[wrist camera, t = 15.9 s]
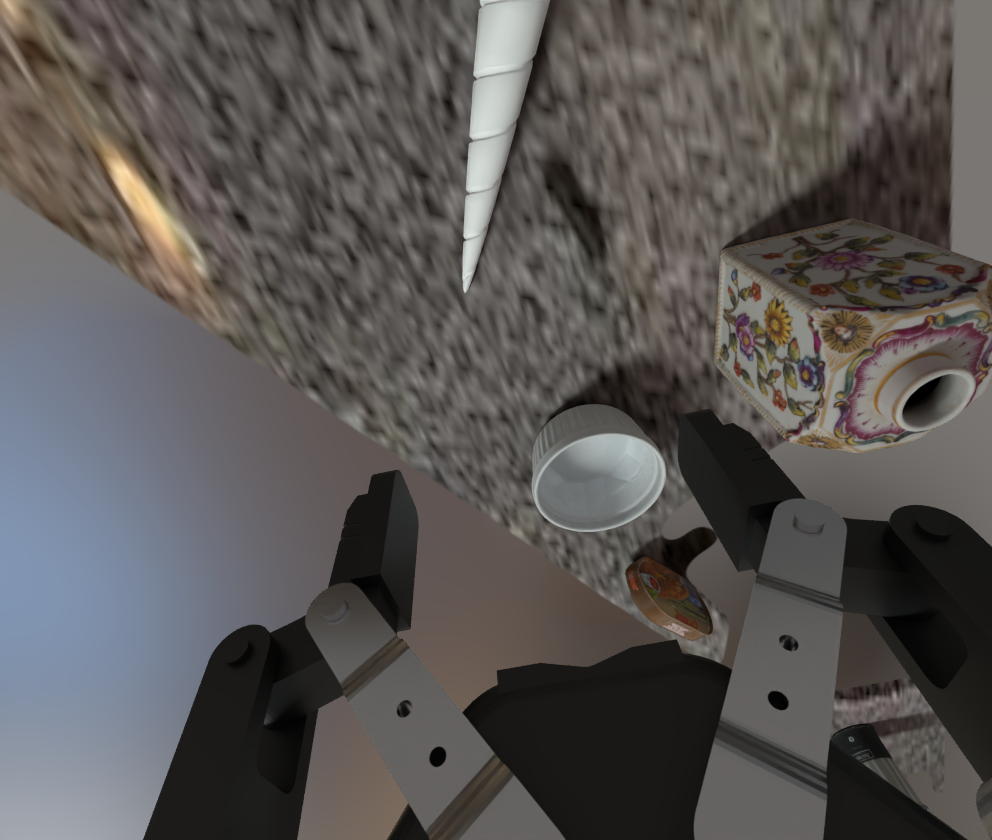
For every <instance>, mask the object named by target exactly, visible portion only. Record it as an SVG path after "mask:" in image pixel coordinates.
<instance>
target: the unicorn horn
mask: <svg viewBox="0 0 992 840" xmlns="http://www.w3.org/2000/svg"><path fill="white" fill-rule="evenodd" d="M549 3H550V0H480V4H481V6H482V8H480V9H479V18H478V30H477V41H476V52H475V63H474V74H473V75H474V76H475V77H476V78H477V80H476V81H474V83H473V92H472V110H471V124H470V137H471V138H472V139H473V142H471V143H469V151H468V166H467V181H466V190H467V191H468V192H469V195H467V196H466V198H465V217H464V238H465V239H466V241H465V242H464V243H463V281H464V282H463V289H464V292H465V293H466V292H467V290H468V288H469V286H470V284H471V281H472V278H473V275H474V272H475V269H476V265H477V263H478V260H479V256H480V253H481V250H482V246H483V243H484V240H485V236H486V233H487V230H488V223H489V222H490V219H491V216H492V212H493V208H494V205H495V201H496V198H497V194H498V191H499V187H500V183H501V179H502V174H503V172H504V169H505V166H506V162H507V158H508V155H509V151H510V147H511V144H512V140H513V136H514V133H515V129H516V120H517V118H518V117H519V114H520V111H521V107H522V103H523V100H524V96H525V92H526V88H527V85H528V81H529V77H530V74H531V70H532V66H533V61H532V58H533V57H534V56H535V55H536V51H537V47H538V44H539V40H540V36H541V32H542V29H543V25H544V21H545V18H546V14H547V10H548V7H549Z"/></svg>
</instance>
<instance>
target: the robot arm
mask: <svg viewBox="0 0 992 840" xmlns="http://www.w3.org/2000/svg"><path fill="white" fill-rule="evenodd" d="M678 463H679V467H680V471H681V473H682V476H683V478H684V480H685V481H686V483H687V485H688V487H689V488H690V490H691V492H692V493H693V495H694V497H695V499H696V500H697V502H698V504H699V505H700V507H701V509H702V511H703V512H704V514H705V516H706V517H707V519H708V521H709V523H710V524H711V526H712V528H713V529H714V531H715V533H716V535H717V536H718V538H719V540H720V541H721V543H722V544H723V547H724V548H725V550H726V552H727V553H728V555H729V557H730V559H731V560H732V562H733V564H734V565H735V567H736V569H737V570H738V572H739V571H745V570H751V569H754V570H755V572H756V573H757V576H756V580H755V584H754V587H753V591H752V595H751V599H750V603H749V607H748V611H747V615H746V619H745V623H744V627H743V631H742V634H741V638H740V643H739V646H738V651H737V654H736V658H735V662H734V666H733V670H732V669H730V668H728V667H727V666H725V665H722V664H720V663H718V662H716V661H714V660H711V659H707V658H704V657H701V656H697V655H692V654H685V653H682V651H681V649H680V646H679V644H678V641H677V639H676V640H670V641H664V642H659V643H653V644H647V645H641V646H635V647H631V648H629V649H627V650H625V651H623V652H620V653H619V654H616V655H614V656H612V657H610V658H608V659H606V660H604V661H601V662H599V663H597V664H595V665H593V666H590V667H577V666H566V665H556V664H545V663H538V664H532V665H526V666H520V667H515V668H509V669H503V670H497V679H498V685H497V686H494V687H492V688H490V689H489V690H487V691H486V692H484V693H483V694H481V695H480V696H479V697H477V698H476V699H475V700H474V701H473V702H472V703H471V704H470V705H469V706H468V707H467V708H466V709H465V710H464V711H463V713H462V712H461V711H460V709H459V708H458V707H457V706H456V704H455V703H454V702H453V701H452V699H451V698H450V697H449V696H448V695H447V693H446V692H445V691H444V689H443V688H442V687H441V686H440V684H439V683H438V682H437V681H436V680H435V678H434V677H433V676H432V674H431V673H430V672H429V671H428V669H427V668H426V667H425V666H424V664H423V663H422V662H421V661H420V659H419V658H418V657H417V656H416V654H415V653H414V652H413V651H412V649H411V648H410V647H409V646H408V645H407V643H406V642H405V641H404V640H403V639H400V638H399V637H398V636H397V632H398V631H404V630H409V629H410V627H411V616H412V602H413V590H414V578H415V565H416V553H417V539H418V515H417V511H416V507H415V505H414V502H413V500H412V497H411V495H410V493H409V490H408V488H407V485H406V483H405V481H404V478H403V476H402V473H401V472H400V471H399V470H394V471H389V472H384V473H378V474H374V475H372V477H371V481H370V485H369V491H368V494H364V495H359V496H357V498H356V499H355V500H354V502H353V503H352V504H351V506H350V507H349V509H348V510H347V514H346V518H345V522H344V528H343V530H342V534H341V541H340V542H339V546H338V550H337V554H336V558H335V562H334V566H333V571H332V574H331V578H330V583H329V586H328V588H327V589H325V590H324V591H322V592H321V593H320V594H319V595H318V596H317V597H316V598H315V599H314V600H313V602H312V603H311V604H310V606H309V608H308V610H307V613H306V615H305V616H303V617H302V618H300V619H298V620H296V621H294V622H292V623H290V624H288V625H286V626H284V627H282V628H279V629H278V630H275V631H273V632H271V633H270V632H269V631H268V630H267V629H266V628H265V627H263V626H261V625H248V626H245V627H242V628H240V629H237V630H236V631H234V632H233V633H231V634H230V635H228V636H227V637H226V638H225V639H224V640H223V641H222V642H221V643H220V644H219V645H218V646H217V648H216V649H215V650H214V652H213V653H212V655H211V658H210V659H209V662H208V665H207V668H206V670H205V673H204V676H203V678H202V681H201V684H200V686H199V689H198V692H197V695H196V697H195V700H194V703H193V706H192V708H191V711H190V714H189V716H188V719H187V722H186V724H185V727H184V730H183V733H182V735H181V738H180V741H179V743H178V746H177V749H176V752H175V754H174V757H173V760H172V762H171V765H170V768H169V771H168V773H167V776H166V779H165V781H164V784H163V787H162V790H161V793H160V795H159V798H158V801H157V803H156V806H155V809H154V812H153V814H152V817H151V820H150V823H149V825H148V828H147V831H146V833H145V836H144V839H143V840H297V836H298V831H299V825H300V819H301V812H302V806H303V800H304V794H305V787H306V781H307V775H308V769H309V763H310V757H311V750H312V745H313V738H314V732H315V726H316V719H317V714H318V708H320V707H322V706H324V705H326V704H328V703H329V702H331V701H333V700H335V699H337V698H339V697H341V696H343V695H345V697H346V699H347V701H348V702H349V704H350V706H351V707H352V709H353V711H354V712H355V714H356V716H357V717H358V719H359V721H360V723H361V724H362V726H363V727H364V729H365V731H366V733H367V734H368V736H369V738H370V739H371V741H372V742H373V744H374V746H375V748H376V749H377V751H378V753H379V754H380V756H381V758H382V759H383V761H384V762H385V764H386V766H387V768H388V769H389V771H390V773H391V774H392V776H393V778H394V779H395V781H396V783H397V785H398V786H399V788H400V790H401V791H402V793H403V794H404V796H405V798H406V799H407V801H408V804H407V806H406V808H405V810H404V811H403V813H402V815H401V816H400V818H399V820H398V822H397V823H396V825H395V827H394V829H393V830H392V832H391V834H390V835H389V837H388V839H387V840H967V839H966V838H964V837H963V836H962V835H960V834H959V833H958V832H956V831H955V830H954V829H952V828H951V827H949V826H948V825H947V824H945V823H944V822H943V821H941V820H940V819H938V818H937V817H936V816H934V815H933V814H931V813H930V812H929V811H927V810H926V809H925V808H923V807H922V806H921V805H919V804H918V803H916V802H915V801H914V800H912V799H911V798H910V797H908V796H907V795H905V794H904V793H903V792H901V791H900V790H899V789H897V788H896V787H894V786H893V785H892V784H890V783H889V782H888V781H886V780H885V779H883V778H882V777H881V776H879V775H878V774H877V773H875V772H874V771H872V770H871V769H870V768H868V767H867V766H866V765H864V764H863V763H861V762H860V761H859V760H857V759H856V758H855V757H853V756H852V755H850V754H849V753H848V752H846V751H845V750H844V749H842V748H841V747H839V746H838V745H837V744H835V743H834V742H833V741H831V740H830V731H831V722H832V712H833V703H834V693H835V683H836V674H837V665H838V655H839V645H840V636H841V626H842V617H843V611H844V612H853V613H861V614H866V615H867V616H868V618H869V619H870V621H871V622H872V624H873V625H874V626H875V628H876V629H877V631H878V632H879V634H880V635H881V636H882V638H883V639H884V641H885V642H886V644H887V645H888V646H889V648H890V649H891V651H892V652H893V653H894V655H895V656H896V658H897V659H898V661H899V662H900V663H901V665H902V666H903V668H904V669H905V671H906V672H907V674H908V675H909V676H910V678H911V679H912V681H913V682H914V684H915V685H916V686H917V688H918V689H919V691H920V692H921V694H922V695H923V696H924V698H925V699H926V701H927V702H928V704H929V705H930V706H931V708H932V709H933V711H934V712H935V714H936V715H937V716H938V718H939V719H940V721H941V722H942V724H943V725H944V726H945V728H946V729H947V731H948V732H949V734H950V735H951V736H952V738H953V739H954V741H955V742H956V744H957V745H958V746H959V748H960V749H961V751H962V752H963V754H964V755H965V756H966V758H967V759H968V761H969V762H970V764H971V765H972V766H973V768H974V769H975V771H976V772H977V774H978V775H979V776H980V778H981V779H982V781H983V783H982V784H981V785H980V787H979V789H978V790H977V794H976V806H977V811H978V814H979V817H980V819H981V821H982V823H983V825H984V827H985V829H986V831H987V833H988V835H989V837H990V839H991V840H992V547H991V546H990V545H989V544H988V543H987V542H986V541H985V540H984V539H983V538H982V537H981V536H979V535H978V534H977V533H976V532H975V531H974V530H973V529H972V528H971V527H970V526H969V525H968V524H966V523H965V522H964V521H963V520H961V519H960V518H958V517H957V516H954V515H953V514H951V513H948V512H946V511H944V510H941V509H938V508H934V507H929V506H923V505H909V506H904V507H901V508H898V509H897V510H895V511H894V512H893V513H892V515H891V517H890V519H889V521H874V520H858V519H848V518H842V517H841V516H840V514H839V513H837V512H836V511H835V510H833V509H832V508H831V507H829V506H827V505H825V504H823V503H820V502H818V501H814V500H809V499H806V498H805V497H804V496H803V495H802V493H801V492H800V491H799V490H798V489H797V487H796V486H795V485H794V484H793V483H792V482H791V480H790V479H789V478H788V477H787V476H786V475H785V473H784V472H783V471H782V470H781V469H780V467H779V466H778V465H777V464H776V463H775V461H774V460H773V459H771V458H770V456H769V454H768V453H767V452H766V451H765V450H764V449H762V448H761V445H760V444H759V443H758V441H757V440H756V439H755V438H754V437H753V436H752V434H751V433H749V432H748V431H746V430H744V429H742V428H741V427H739V426H737V425H735V424H734V423H731V424H726V425H723V424H722V423H721V422H720V420H719V419H718V418H717V417H716V415H715V414H714V413H713V412H712V411H711V410H710V409H706V410H701V411H696V412H691V413H686V414H682V415H681V416H680V418H679V437H678Z"/></svg>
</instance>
